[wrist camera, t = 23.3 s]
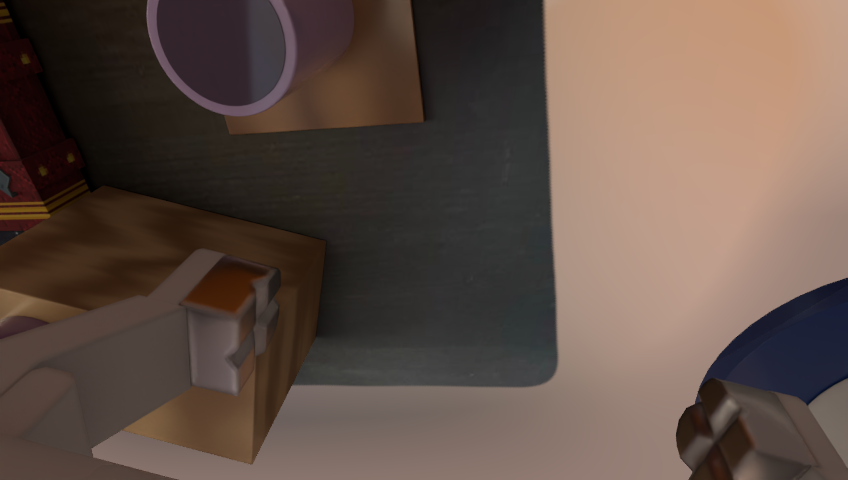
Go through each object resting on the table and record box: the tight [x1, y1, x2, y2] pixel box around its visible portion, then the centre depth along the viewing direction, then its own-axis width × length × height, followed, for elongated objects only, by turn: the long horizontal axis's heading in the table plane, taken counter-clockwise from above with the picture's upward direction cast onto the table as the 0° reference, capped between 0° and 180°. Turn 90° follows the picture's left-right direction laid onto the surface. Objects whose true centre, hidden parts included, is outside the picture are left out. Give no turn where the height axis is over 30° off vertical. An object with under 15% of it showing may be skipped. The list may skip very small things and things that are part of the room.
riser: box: [0, 185, 326, 464], centre depth 34 cm, size 17×10×12 cm, turn 79°
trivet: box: [224, 0, 425, 135], centre depth 29 cm, size 13×13×1 cm
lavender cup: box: [147, 0, 354, 116], centre depth 25 cm, size 7×7×9 cm
